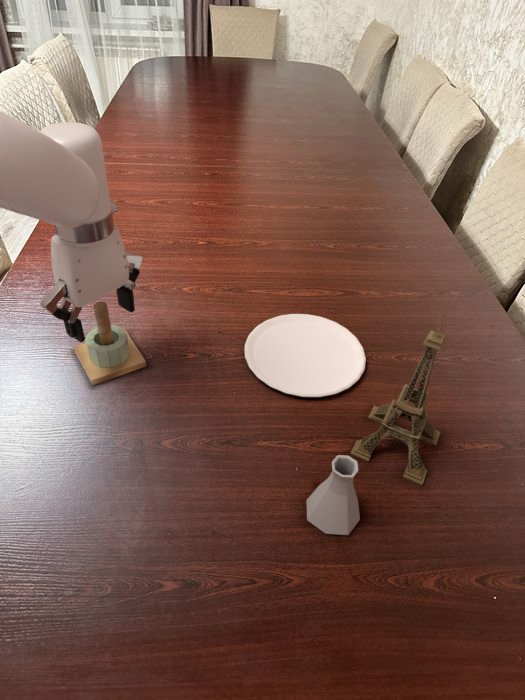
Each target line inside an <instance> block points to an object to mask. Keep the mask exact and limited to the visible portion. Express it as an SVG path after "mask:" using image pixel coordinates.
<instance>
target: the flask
mask: <svg viewBox="0 0 525 700" xmlns="http://www.w3.org/2000/svg"><path fill="white" fill-rule="evenodd" d="M358 472H359V464H358V461H357V460H356V459H354V458H353V457H351V456H350V455H343V454H337V455H336V457H334V458H333V460H332V461H331V473H330V474H329V476H328V477H327V478H326V479H325V480H324V481H323V482H321V483H320V484H318V486H317V487H316V488H315V489H314V491H312V493H311V494H310V495H309V496H308V497H307V499H306V503H305V504H306V521H307V522H309V523H310V524H312V525H313V526H314V527H316V528H317V529H318V530H320V531H322V533H324V534H325V535H339V536H349V535H350V533H352V531H353V530H354V528H355V527H356V525H357V524H358V523H359V521H360V520H361V518H360V517H361V516H360V515H361V513H360V506H359V499H358V495H357V492H356V489H355V486H354V478H355V476H356V475H357V474H358Z"/></svg>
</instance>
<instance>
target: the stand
mask: <svg viewBox="0 0 525 700" xmlns="http://www.w3.org/2000/svg"><path fill="white" fill-rule="evenodd" d="M92 308H93V312H94V317H95V322H96V327H98V332H99V337H100V342H101V346H108V345H111V344H114V341H113V335H112V330H111V325H112V324H111V319H110V314H109V307H108V304H107V303H106V302H105V301H96V302H95V303H94V304H93V307H92ZM124 330H125V332H126V333H127V337H128V343H129V350H130V352H129V357H128V358H127V359H126V360H125V361H124V362H123V363H122V364H120V365H117V366H114V367H111V368H105V367H98V366H96V365H94V364H92V363H91V361H90V359H89V357H88V352H87V348H86V344H85V342H82V343H80V344H77V345H74V346H73V349H74V352H75V354H76V357H77V359H78V360H79V362H80V364H81V367H82V368H83V370H84V372H85V374H86V376H87V377H88V379H89V381H90V383H91V385H92V386H95V385H99V384H101V383H104V382H107V381H110V380H112V379H114V378H118V377H120V376H124V375H127V374H129V373H132V372H134V371H138V370H140V369H143V368H146V367H147V361H146V359H145V357H144V356H143V354H142V353H141V352H140V350H139V349H138V347H137V345H136V344H135V342H134V341H133V339H132V338H131V336H130V335H129V333H128V331H127V330H126V329H124Z"/></svg>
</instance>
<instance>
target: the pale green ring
mask: <svg viewBox="0 0 525 700" xmlns="http://www.w3.org/2000/svg"><path fill="white" fill-rule="evenodd" d="M111 330H112V335H113V341H114V344H111V345H108V346H101V342H100V337H99V332H98V327H97V326H96V327H94V328H92V329H91V330H90V331H89V332H87V334H86V336H85V340H84V343H85V344H86V348H87V352H88V357H89V359H90V361H91V363H92V364H94V365H96V366H98V367H105V368H111V367H114V366H117V365H120V364H122V363H123V362H124V361H125V360H126V359H127V358H128V357H129V352H130V350H129V343H128V337H127V333H128V332H127V331H126V332H127V333H126V332H125V330H126V329H124V327H121V326H119V325H116V324H111Z"/></svg>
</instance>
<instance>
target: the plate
mask: <svg viewBox="0 0 525 700" xmlns="http://www.w3.org/2000/svg"><path fill="white" fill-rule="evenodd" d="M244 359H245V361H246V363H247V366H248V369H249V370H250V371H251V372H252V373H253V374H254V376H255V377H256V378H257V379H258V380H259V381H261V382H262V383H263V384H265V385H266V386H268V387H269V388H271V389H273V390H275V391H279V392H281V393H283V394H285V395H291V396H295V397H300V398H325V397H329V396H335V395H337V394H340V393H342V392H344V391H346V390H349V389H350V388H352V387H353V385H355V384H356V383H357V382H358V381H359V380H360V378H361V377H362V375H363V374H364V372H365V369H366V361H367V356H366V353H365V349H364V347H363V346H362V343H360V340H359V339H358V338H357V336H356V335H354V333H352V332H351V331H350V330H349V329H348V328H346V327H344V326H343V325H341V324H339V323H338V322H337V321H334V320H332V319H328V318H325V317H322V316H319V315H314V314H308V313H290V314H282V315H277V316H275V317H272V318H269V319H266V320H264V321H263V322H261V323H260V324H258V325H257V326H255V327H254V329H252V330H251V332H250V333H249V334H248V336H247V338H246V340H245V344H244Z"/></svg>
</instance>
